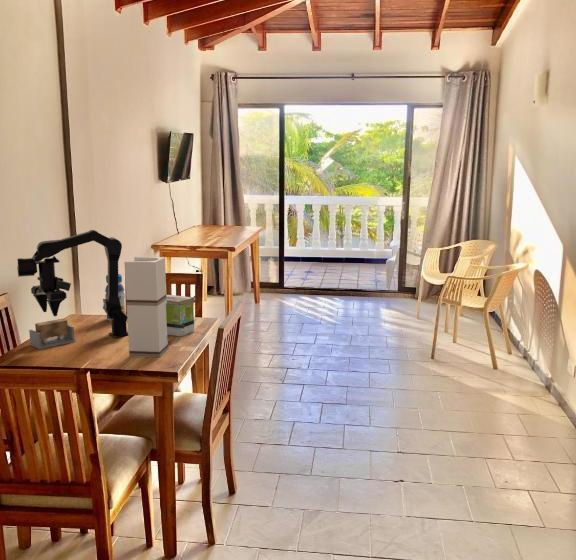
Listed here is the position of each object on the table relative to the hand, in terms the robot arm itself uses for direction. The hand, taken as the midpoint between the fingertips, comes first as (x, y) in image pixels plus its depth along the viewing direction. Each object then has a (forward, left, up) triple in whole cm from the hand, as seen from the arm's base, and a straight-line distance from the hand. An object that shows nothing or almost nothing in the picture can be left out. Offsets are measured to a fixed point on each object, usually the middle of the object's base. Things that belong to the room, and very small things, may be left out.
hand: (50, 314), depth 244 cm
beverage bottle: (+16, -37, -12) cm, 42 cm away
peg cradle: (0, 0, -12) cm, 12 cm away
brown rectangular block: (0, 0, -9) cm, 9 cm away
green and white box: (-20, -43, -12) cm, 49 cm away
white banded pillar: (-37, -21, -12) cm, 44 cm away
